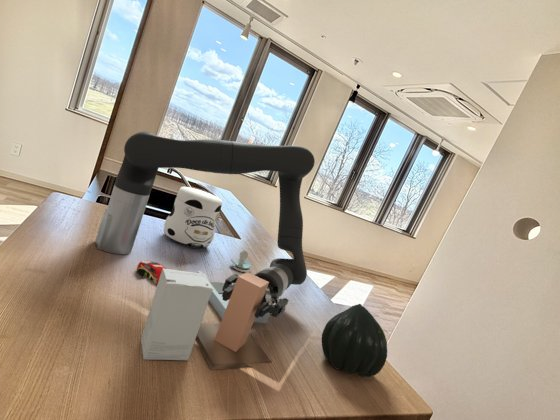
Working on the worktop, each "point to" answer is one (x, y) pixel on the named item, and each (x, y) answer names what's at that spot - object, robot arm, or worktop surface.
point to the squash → (355, 342)
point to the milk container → (193, 218)
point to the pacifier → (242, 263)
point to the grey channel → (221, 304)
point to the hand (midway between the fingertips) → (241, 304)
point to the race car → (150, 270)
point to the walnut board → (228, 350)
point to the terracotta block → (241, 311)
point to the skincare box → (175, 315)
